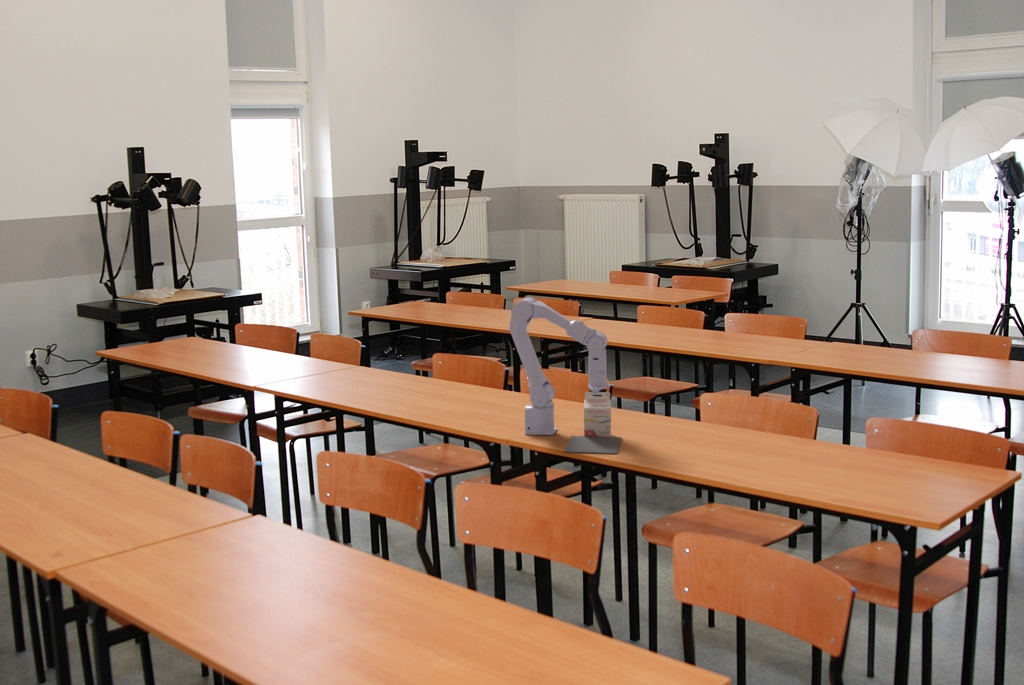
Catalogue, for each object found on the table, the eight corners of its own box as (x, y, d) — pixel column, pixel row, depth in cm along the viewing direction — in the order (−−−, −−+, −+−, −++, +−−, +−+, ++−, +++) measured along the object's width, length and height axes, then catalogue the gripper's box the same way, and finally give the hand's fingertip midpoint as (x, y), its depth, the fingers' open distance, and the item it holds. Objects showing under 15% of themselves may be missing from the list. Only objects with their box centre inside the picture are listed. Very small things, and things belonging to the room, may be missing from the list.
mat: (564, 452, 296) (564, 451, 296) (571, 437, 314) (571, 435, 314) (617, 454, 293) (617, 452, 293) (622, 438, 311) (622, 437, 311)
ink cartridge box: (584, 437, 313) (583, 400, 305) (584, 427, 317) (583, 391, 309) (611, 437, 312) (610, 400, 304) (611, 428, 316) (610, 391, 308)
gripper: (607, 375, 304) (608, 418, 307) (612, 366, 318) (612, 407, 321) (585, 375, 306) (585, 417, 308) (590, 366, 320) (590, 406, 322)
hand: (597, 412), depth 314 cm, fingers closed
